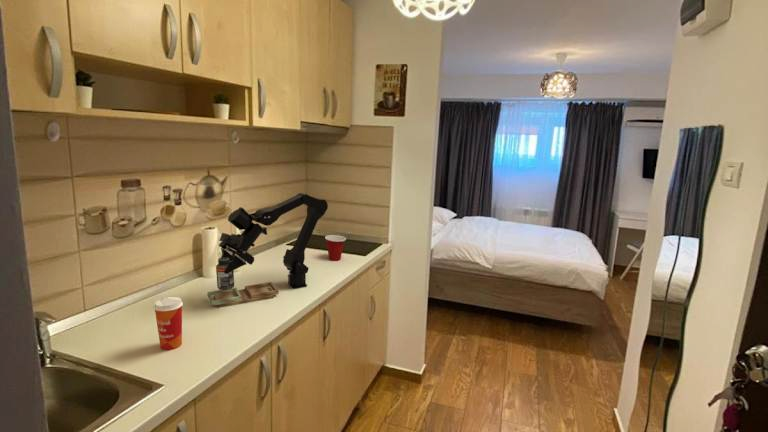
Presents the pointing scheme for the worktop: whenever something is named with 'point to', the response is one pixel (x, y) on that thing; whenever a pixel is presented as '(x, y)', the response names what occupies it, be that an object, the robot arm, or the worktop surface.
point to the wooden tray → (242, 294)
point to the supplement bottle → (224, 275)
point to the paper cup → (169, 322)
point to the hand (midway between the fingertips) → (221, 271)
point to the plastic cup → (335, 246)
